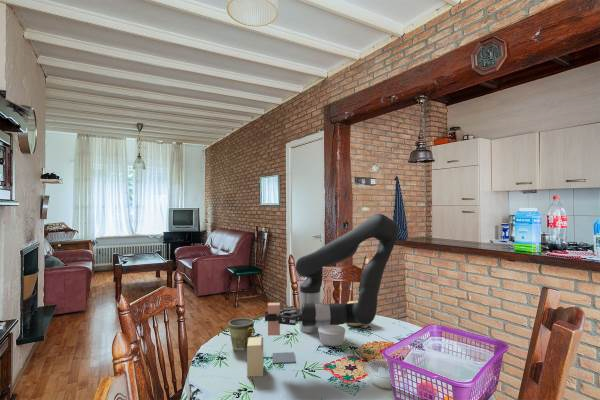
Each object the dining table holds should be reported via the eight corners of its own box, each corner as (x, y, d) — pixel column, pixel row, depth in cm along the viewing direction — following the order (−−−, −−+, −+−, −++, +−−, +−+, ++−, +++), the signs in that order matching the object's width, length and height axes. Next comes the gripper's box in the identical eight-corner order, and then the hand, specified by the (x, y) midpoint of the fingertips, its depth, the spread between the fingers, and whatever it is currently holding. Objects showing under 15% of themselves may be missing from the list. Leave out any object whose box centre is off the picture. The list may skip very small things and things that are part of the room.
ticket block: (265, 366, 115) (265, 336, 115) (265, 376, 108) (265, 344, 108) (248, 367, 114) (248, 337, 115) (247, 377, 107) (247, 345, 108)
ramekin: (327, 349, 129) (327, 335, 129) (313, 339, 139) (313, 327, 139) (351, 344, 134) (350, 330, 134) (335, 335, 144) (335, 322, 144)
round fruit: (372, 323, 159) (372, 300, 160) (359, 330, 150) (359, 305, 151) (352, 318, 167) (351, 296, 167) (338, 324, 158) (338, 301, 158)
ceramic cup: (223, 347, 131) (223, 322, 131) (243, 340, 138) (243, 316, 139) (243, 357, 122) (243, 329, 123) (264, 349, 130) (264, 323, 130)
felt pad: (272, 354, 125) (272, 353, 125) (293, 353, 126) (293, 352, 126) (272, 363, 117) (272, 362, 117) (295, 362, 118) (295, 361, 118)
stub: (279, 331, 115) (279, 302, 115) (279, 335, 112) (279, 305, 112) (268, 332, 115) (268, 302, 115) (267, 335, 112) (267, 305, 112)
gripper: (313, 298, 122) (265, 299, 120) (318, 309, 108) (264, 311, 106) (313, 319, 122) (265, 320, 120) (318, 333, 108) (264, 334, 106)
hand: (265, 316), depth 113 cm, fingers closed on stub, 3 cm apart
